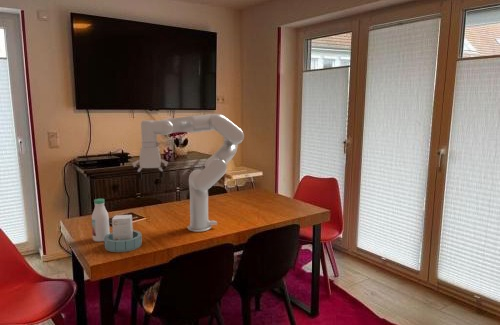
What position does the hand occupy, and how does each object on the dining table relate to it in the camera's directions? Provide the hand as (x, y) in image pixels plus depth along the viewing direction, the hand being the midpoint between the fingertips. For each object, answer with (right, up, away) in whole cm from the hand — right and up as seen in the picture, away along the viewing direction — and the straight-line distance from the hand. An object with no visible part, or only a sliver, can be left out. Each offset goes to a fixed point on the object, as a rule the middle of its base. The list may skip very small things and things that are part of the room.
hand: (150, 179), depth 189 cm
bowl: (-9, -31, -14) cm, 35 cm away
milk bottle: (-23, -29, -5) cm, 38 cm away
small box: (-9, -30, -14) cm, 34 cm away
